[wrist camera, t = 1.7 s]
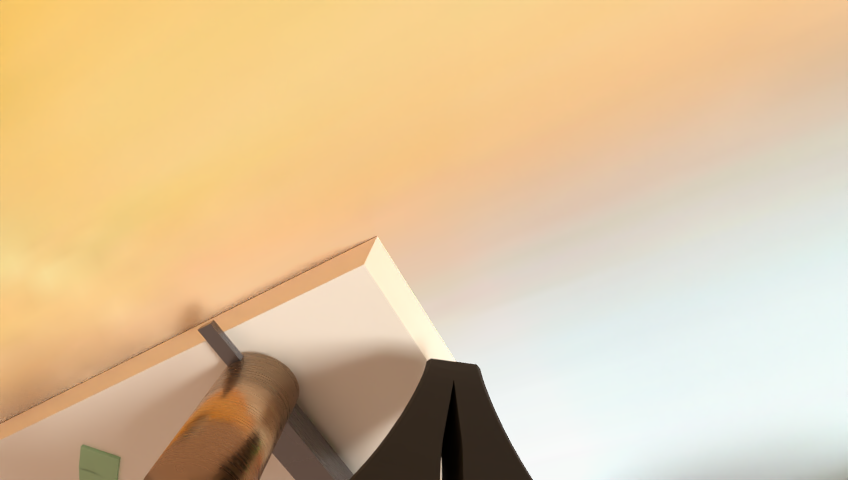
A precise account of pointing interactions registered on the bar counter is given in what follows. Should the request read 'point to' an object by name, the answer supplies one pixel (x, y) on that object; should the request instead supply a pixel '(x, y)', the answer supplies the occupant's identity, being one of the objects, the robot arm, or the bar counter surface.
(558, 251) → the bar counter surface
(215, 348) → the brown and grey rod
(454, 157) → the bar counter surface
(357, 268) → the board
